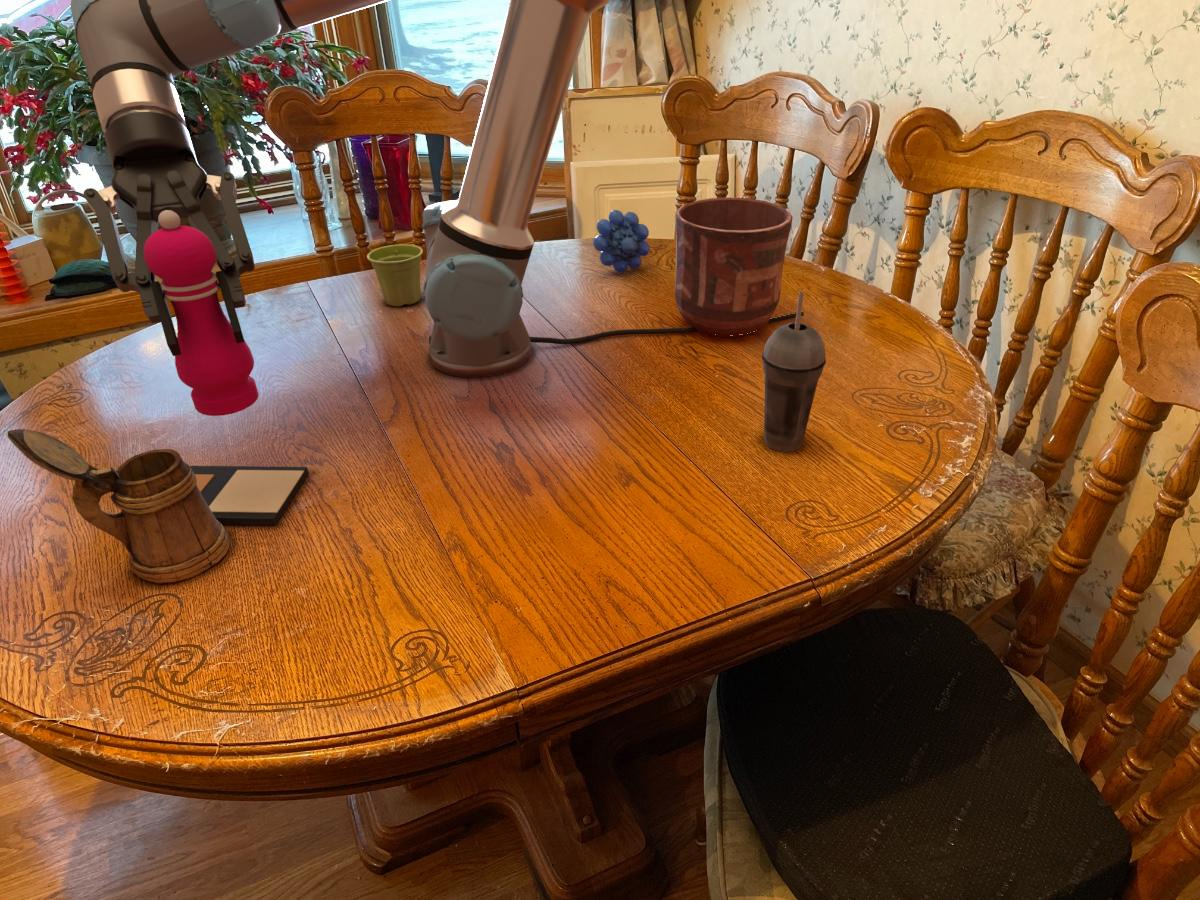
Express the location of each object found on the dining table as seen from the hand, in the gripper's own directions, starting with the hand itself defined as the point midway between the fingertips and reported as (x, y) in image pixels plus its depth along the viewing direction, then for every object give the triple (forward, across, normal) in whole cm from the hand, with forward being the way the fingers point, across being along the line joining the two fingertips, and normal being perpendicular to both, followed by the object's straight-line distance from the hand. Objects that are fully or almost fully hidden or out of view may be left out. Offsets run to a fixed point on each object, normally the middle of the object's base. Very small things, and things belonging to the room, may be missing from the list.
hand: (207, 343), depth 74 cm
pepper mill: (+3, 0, -9) cm, 9 cm away
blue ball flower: (-18, -71, -47) cm, 87 cm away
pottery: (+2, -74, -27) cm, 79 cm away
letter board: (+11, +3, -18) cm, 22 cm away
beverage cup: (+26, -59, -4) cm, 65 cm away
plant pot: (-23, -30, -53) cm, 66 cm away
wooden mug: (+17, +10, -13) cm, 24 cm away
